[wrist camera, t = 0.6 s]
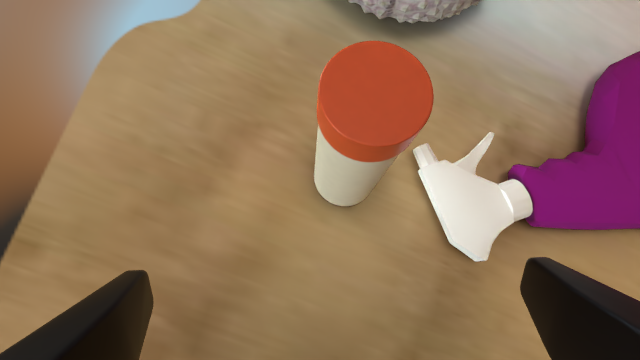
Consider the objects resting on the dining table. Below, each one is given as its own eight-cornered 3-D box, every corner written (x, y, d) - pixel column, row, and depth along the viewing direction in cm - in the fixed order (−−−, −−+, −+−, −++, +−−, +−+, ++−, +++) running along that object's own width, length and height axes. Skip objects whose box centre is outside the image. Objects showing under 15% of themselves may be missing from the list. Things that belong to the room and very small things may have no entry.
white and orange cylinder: (385, 188, 24) (457, 106, 13) (335, 222, 24) (363, 169, 12) (350, 139, 25) (388, 21, 14) (300, 171, 24) (295, 75, 13)
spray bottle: (810, 174, 26) (465, 304, 23) (718, 32, 28) (396, 137, 26) (874, 160, 23) (487, 308, 20) (765, 4, 25) (407, 119, 23)
